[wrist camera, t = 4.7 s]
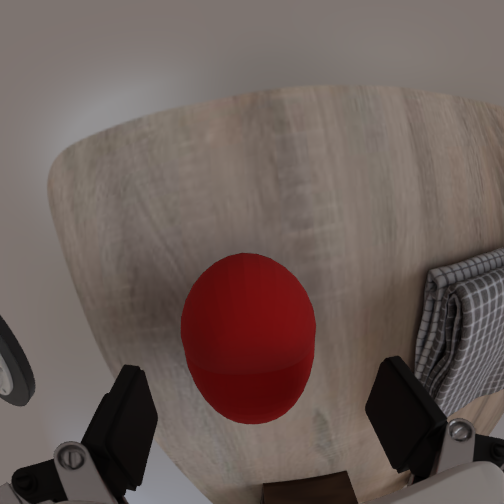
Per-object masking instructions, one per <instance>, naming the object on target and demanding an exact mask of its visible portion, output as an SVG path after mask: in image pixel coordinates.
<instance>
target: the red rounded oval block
mask: <svg viewBox="0 0 504 504" xmlns="http://www.w3.org/2000/svg"><path fill="white" fill-rule="evenodd" d="M315 332H316V322H315V316H314V310H313V307H312V304H311V302H310V300H309V297H308V295H307V293H306V291H305V289H304V288H303V287H302V285H301V284H300V282H299V281H298V279H297V278H296V277H295V276H294V275H293V274H292V273H291V272H290V271H288V270H287V269H286V268H285V267H284V266H282V265H281V264H279V263H277V262H276V261H274V260H272V259H271V258H268V257H265V256H262V255H259V254H252V253H239V254H235V255H231V256H227V257H225V258H223V259H221V260H219V261H217V262H216V263H214V264H213V265H212V266H211V267H209V268H208V269H207V270H206V271H205V272H203V273H202V275H201V276H200V277H199V278H198V280H197V281H196V282H195V284H194V285H193V286H192V288H191V290H190V292H189V294H188V296H187V299H186V301H185V304H184V308H183V312H182V316H181V339H182V342H183V346H184V351H185V355H186V360H187V364H188V368H189V370H190V373H191V375H192V377H193V380H194V382H195V384H196V386H197V388H198V389H199V391H200V392H201V394H202V395H203V397H204V398H205V400H206V401H207V402H208V403H209V404H210V405H211V406H212V407H213V408H214V409H215V410H216V411H217V412H218V413H220V414H221V415H223V416H224V417H226V418H227V419H230V420H232V421H235V422H238V423H243V424H261V423H267V422H270V421H272V420H275V419H277V418H279V417H280V416H282V415H284V414H285V413H286V412H287V411H288V410H289V409H291V408H292V407H293V406H294V405H295V403H296V402H297V400H298V399H299V397H300V396H301V394H302V392H303V391H304V388H305V386H306V383H307V381H308V379H309V376H310V372H311V368H312V364H313V359H314V347H315Z"/></svg>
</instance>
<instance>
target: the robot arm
mask: <svg viewBox="0 0 504 504" xmlns="http://www.w3.org/2000/svg"><path fill="white" fill-rule="evenodd" d="M12 389H13V381H12V377H11V374H10V371H9V369H8V367H7V365H6V363H5V361H4V359H3V357H2V355H1V354H0V394H2V395H9V394H10V392H11V391H12ZM365 411H366V414H367V416H368V418H369V420H370V422H371V424H372V426H373V428H374V430H375V432H376V434H377V436H378V438H379V441H380V443H381V445H382V447H383V449H384V451H385V453H386V455H387V457H388V460H389V462H390V464H391V466H392V468H393V469H396V470H397V472H398V474H399V473H402V472H404V471H407V470H409V469H410V471H411V476H410V479H409V482H408V484H407V487H406V488H404V489H401V490H398V491H396V492H393V493H390V494H388V495H385V496H382V497H379V498H376V499H373V500H370V501H366V502H363V503H360V504H504V440H503V439H500V438H494V437H489V436H484V435H479V434H475V428H474V426H473V425H472V424H471V422H469V421H468V420H466V419H463V418H456V419H453V420H451V421H450V422H449V423H448V422H447V417H446V416H445V414H444V413H443V412H442V410H441V409H440V408H439V406H438V405H437V404H436V402H435V401H434V400H433V398H432V397H431V396H430V394H429V393H428V392H427V390H426V389H425V388H424V387H423V385H422V384H421V383H420V381H419V380H418V379H417V378H416V376H415V375H414V374H413V372H412V371H411V370H410V369H409V367H408V366H407V365H406V364H405V362H404V361H403V360H402V359H401V357H399V356H393V357H388V358H385V359H384V361H383V362H382V363H381V364H380V367H379V370H378V373H377V376H376V379H375V382H374V384H373V387H372V390H371V393H370V395H369V398H368V400H367V403H366V406H365ZM157 422H158V415H157V411H156V408H155V405H154V402H153V399H152V396H151V392H150V389H149V386H148V382H147V379H146V375H145V372H144V370H141V369H140V367H139V366H133V365H124V366H123V368H122V369H121V371H120V373H119V375H118V377H117V379H116V381H115V383H114V385H113V387H112V389H111V390H110V392H109V393H107V394H105V395H104V397H103V398H102V400H101V402H100V404H99V406H98V408H97V410H96V412H95V414H94V416H93V418H92V420H91V422H90V424H89V426H88V428H87V431H86V432H85V434H84V437H83V439H82V441H81V443H78V442H73V441H69V442H64V443H62V444H60V445H59V446H58V447H57V448H56V450H55V451H54V459H51V460H48V461H45V462H41V463H38V464H35V465H31V466H27V467H24V468H20V469H18V470H16V471H15V472H14V474H13V476H12V483H11V484H9V483H5V484H3V485H2V486H0V504H129V503H128V502H127V500H126V498H125V497H124V495H125V493H126V489H128V490H132V491H136V487H137V486H140V485H141V484H142V480H143V475H144V472H145V467H146V463H147V459H148V456H149V452H150V448H151V444H152V440H153V436H154V433H155V429H156V425H157Z"/></svg>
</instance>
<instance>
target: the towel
mask: <svg viewBox="0 0 504 504" xmlns="http://www.w3.org/2000/svg"><path fill="white" fill-rule="evenodd" d="M426 282H427V283H426V285H425V290H424V306H423V315H422V320H421V324H420V327H419V331H418V335H417V340H416V348H415V372H414V375H415V376H416V378H417V379H418V380H419V381H420V383H421V384H422V385H423V387H424V388H425V389H426V390H427V392H428V393H429V394H430V396H431V397H432V398H433V400H434V401H435V402H436V404H437V405H438V406H439V408H440V409H441V410H442V412H443V413H444V414H445V416H446V417H447V416H450V415H452V414H453V413H454V412H456V411H458V410H459V409H460V408H462V407H464V406H466V405H467V404H468V403H470V402H471V401H472V400H473V399H475V398H478V397H481V396H484V395H489V394H492V393H495V392H498V391H500V390H502V389H504V247H503V248H499V249H497V250H493V251H492V252H488V253H483V254H481V255H477V256H475V257H472V258H469V259H468V260H464V261H461V262H459V263H455V264H453V265H449V266H446V267H443V266H442V267H439V268H437V269H430V270H429V271H428V274H427V280H426Z"/></svg>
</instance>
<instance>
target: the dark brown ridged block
mask: <svg viewBox="0 0 504 504" xmlns="http://www.w3.org/2000/svg"><path fill="white" fill-rule="evenodd" d="M261 504H358V501H357V498H356V496H355V493H354V490H353V487H352V485H351V482H350V479H349V476H348V473H347V471H343V472H338V473H334V474H329V475H324V476H319V477H313V478H307V479H301V480H293V481H285V482H275V483H263V487H262V496H261Z"/></svg>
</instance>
